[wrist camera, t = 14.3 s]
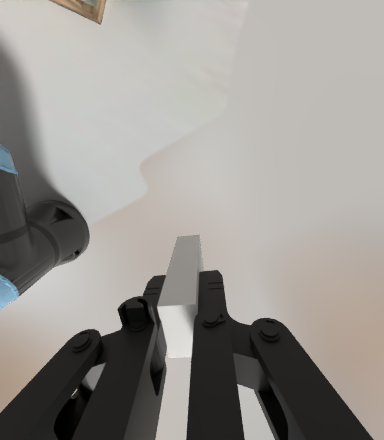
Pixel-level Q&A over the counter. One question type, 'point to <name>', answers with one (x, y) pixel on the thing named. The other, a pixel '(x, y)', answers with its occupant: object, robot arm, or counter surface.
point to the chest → (84, 8)
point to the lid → (91, 2)
